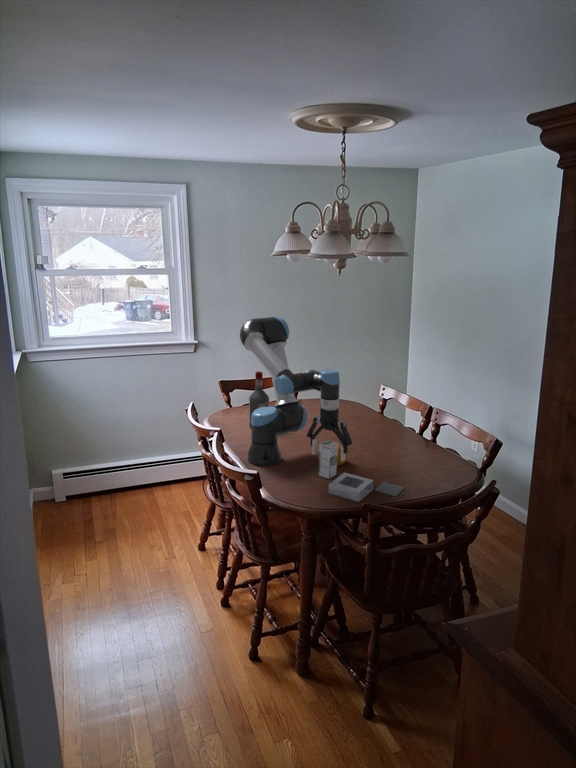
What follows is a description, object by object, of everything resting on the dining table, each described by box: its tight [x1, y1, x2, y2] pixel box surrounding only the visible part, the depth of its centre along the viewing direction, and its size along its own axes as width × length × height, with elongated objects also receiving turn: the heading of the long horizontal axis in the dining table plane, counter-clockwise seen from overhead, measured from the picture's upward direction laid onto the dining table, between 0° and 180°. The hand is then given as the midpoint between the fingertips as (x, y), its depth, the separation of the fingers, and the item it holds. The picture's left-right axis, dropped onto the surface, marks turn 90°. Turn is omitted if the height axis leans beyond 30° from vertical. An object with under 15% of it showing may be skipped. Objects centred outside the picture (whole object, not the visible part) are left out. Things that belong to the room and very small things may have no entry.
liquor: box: [248, 370, 270, 429], centre depth 277 cm, size 9×9×30 cm
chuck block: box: [328, 472, 375, 503], centre depth 207 cm, size 13×13×4 cm
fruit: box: [334, 441, 349, 467], centre depth 233 cm, size 12×12×10 cm
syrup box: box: [317, 440, 339, 480], centre depth 220 cm, size 6×6×14 cm
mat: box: [373, 481, 405, 498], centre depth 209 cm, size 9×9×1 cm
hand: (328, 456), depth 219 cm, fingers open, 13 cm apart
